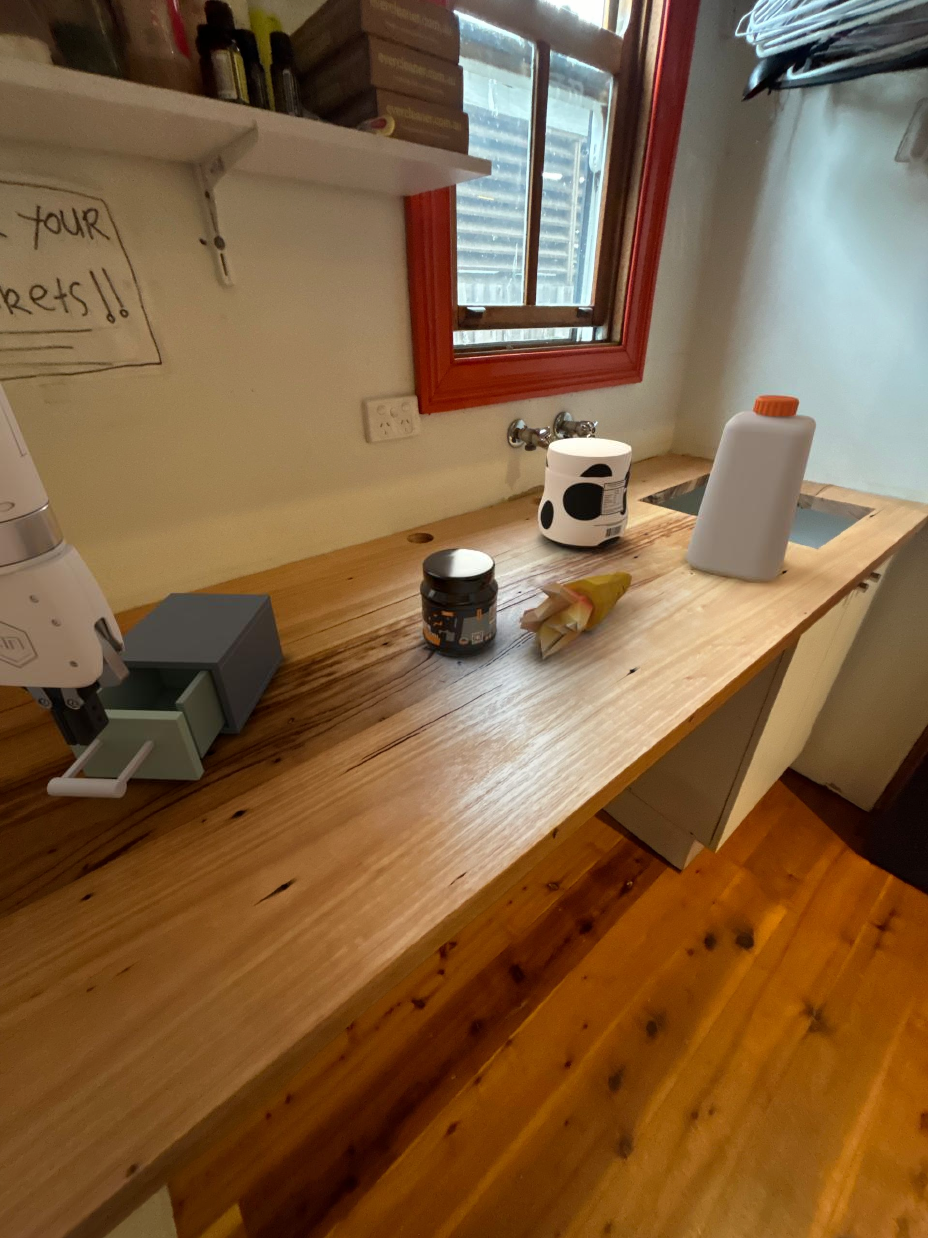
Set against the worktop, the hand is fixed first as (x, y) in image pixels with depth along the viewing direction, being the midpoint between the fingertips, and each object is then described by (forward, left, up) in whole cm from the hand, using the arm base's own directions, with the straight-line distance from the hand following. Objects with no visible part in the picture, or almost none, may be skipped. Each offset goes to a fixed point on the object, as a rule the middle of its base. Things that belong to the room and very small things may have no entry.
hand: (89, 733), depth 46 cm
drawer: (0, +6, -9) cm, 11 cm away
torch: (+48, +35, -10) cm, 60 cm away
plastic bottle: (+78, +58, -10) cm, 98 cm away
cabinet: (0, +18, -9) cm, 20 cm away
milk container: (+52, +69, -10) cm, 87 cm away
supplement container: (+30, +31, -10) cm, 44 cm away
